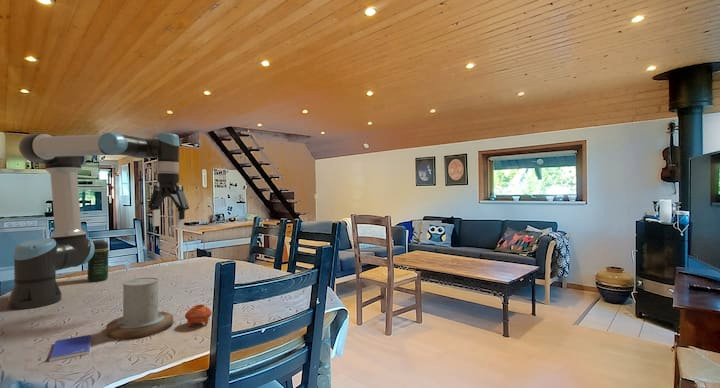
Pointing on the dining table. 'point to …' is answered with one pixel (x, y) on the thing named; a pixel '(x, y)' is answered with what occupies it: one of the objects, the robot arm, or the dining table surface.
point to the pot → (198, 314)
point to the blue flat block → (71, 347)
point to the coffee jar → (98, 262)
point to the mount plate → (139, 327)
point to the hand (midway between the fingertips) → (168, 227)
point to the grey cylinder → (140, 301)
